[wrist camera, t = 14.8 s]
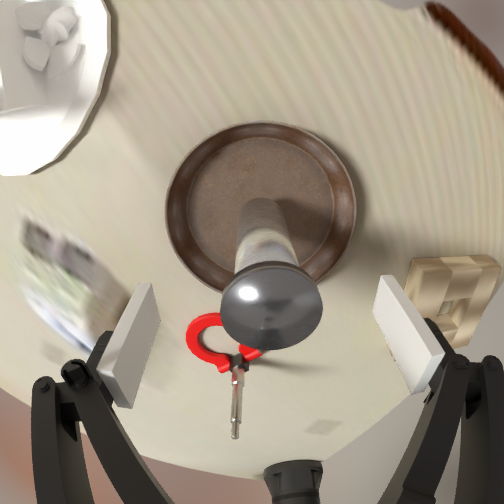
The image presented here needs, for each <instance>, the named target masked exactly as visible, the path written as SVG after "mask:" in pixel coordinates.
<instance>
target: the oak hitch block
mask: <svg viewBox="0 0 504 504" xmlns="http://www.w3.org/2000/svg"><path fill="white" fill-rule="evenodd" d="M500 270H501V266H500V265H498V264H497V263H496V262H495V261H494V260H493V259H492V258H491V257H489V256H488V255H474V256H455V257H436V258H416V259H412V261H411V265H410V269H409V273H408V277H407V280H406V284H405V288H404V292H405V293H406V295H407V296H408V298H409V299H410V300H411V302H412V303H413V305H414V306H415V308H416V309H417V310H418V312H419V313H420V315H421V316H422V318H430V319H431V320H432V321H433V322H435V323H436V325H437V326H438V328H439V329H440V331H441V332H442V333H443V336H445V338H446V339H447V341H448V342H449V344H450V345H451V347H452V349H455V348H458V347H462V346H466V345H468V343H469V341H470V339H471V337H472V335H473V333H474V331H475V329H476V327H477V325H478V323H479V321H480V319H481V317H482V314H483V312H484V310H485V308H486V305H487V303H488V301H489V298H490V296H491V293H492V291H493V288H494V286H495V283H496V281H497V278H498V275H499V273H500ZM450 300H453V302H452V305H451V307H450V310H449V312H448V314H444V315H438V313H439V310H440V308H441V305H442V302H443V301H450ZM387 346H388V348H389V345H388V343H387ZM389 350H390V348H389ZM390 353H391V355H392V357H393V359H394V361H396V360H395V358H394V356H393V354H392V352H391V350H390Z"/></svg>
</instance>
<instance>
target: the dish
mask: <svg viewBox="0 0 504 504" xmlns="http://www.w3.org/2000/svg"><path fill="white" fill-rule="evenodd" d="M110 56H111V15H110V13H109V11H108V9H107V7H106V4H105V2H104V0H0V174H1V175H3V176H15V175H28V174H31V173H33V172H34V171H36V170H38V169H40V168H41V167H43V166H45V165H47V164H49V163H50V162H52V161H54V160H56V159H57V158H58V157H59V156H60V155H61V154H62V152H63V151H64V150H65V149H66V148H67V147H68V146H69V144H70V143H71V142H72V141H73V140H74V139H75V138H76V137H77V136H78V134H79V133H80V132H81V131H82V129H83V127H84V124H85V122H86V120H87V118H88V117H89V115H90V113H91V111H92V109H93V107H94V105H95V103H96V101H97V100H98V98H99V96H100V94H101V90H102V85H103V81H104V77H105V74H106V70H107V66H108V63H109V59H110Z"/></svg>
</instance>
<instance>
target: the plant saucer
mask: <svg viewBox="0 0 504 504" xmlns="http://www.w3.org/2000/svg"><path fill="white" fill-rule="evenodd" d="M260 197H263V198H268V199H271V200H273V201H275V202H276V203H277V204H278V205H279V206H280V208H281V209H282V212H283V215H284V218H285V221H286V224H287V228H288V231H289V234H290V237H291V241H292V244H293V247H294V250H295V254H296V257H297V260H298V264H299V267H300V268H302V269H303V270H305V271H306V272H307V273H308V274H309V275H310V276H311V277H312V278H313V280H314V281H315V283H316V284H317V283H318V282H320V281H321V280H322V279H323V278H325V277H326V276H327V275H328V274H329V273H330V272H331V271H332V270H333V269H334V268H335V266H336V265H337V264H338V263H339V261H340V260H341V259H342V257H343V255H344V254H345V252H346V250H347V248H348V246H349V244H350V241H351V238H352V236H353V232H354V228H355V222H356V197H355V191H354V188H353V184H352V181H351V178H350V176H349V174H348V172H347V170H346V168H345V166H344V165H343V163H342V162H341V160H340V159H339V157H338V156H337V155H336V154H335V153H334V151H333V150H332V149H331V148H330V147H329V146H327V145H326V144H325V143H324V142H323V141H321V140H320V139H319V138H317V137H316V136H314V135H313V134H311V133H309V132H307V131H305V130H303V129H301V128H299V127H296V126H293V125H289V124H286V123H281V122H275V121H247V122H242V123H237V124H234V125H230V126H227V127H225V128H222V129H220V130H218V131H216V132H214V133H212V134H210V135H209V136H207V137H206V138H204V139H203V140H201V141H200V142H199V143H198V144H197V145H195V146H194V147H193V148H192V149H191V150H190V151H189V152H188V153H187V154H186V156H185V157H184V158H183V159H182V161H181V162H180V163H179V165H178V167H177V168H176V170H175V172H174V174H173V176H172V178H171V181H170V183H169V187H168V189H167V194H166V200H165V224H166V229H167V234H168V237H169V240H170V243H171V245H172V248H173V250H174V252H175V253H176V255H177V257H178V258H179V260H180V261H181V263H182V264H183V265H184V267H185V268H186V269H187V270H188V271H189V272H190V273H191V274H192V275H193V276H194V277H195V278H196V279H197V280H199V281H200V282H201V283H203V284H204V285H206V286H207V287H209V288H211V289H212V290H214V291H216V292H219V293H221V294H223V291H224V288H225V286H226V284H227V283H228V281H229V280H230V279H231V278H232V277H233V276H234V275H235V260H236V245H237V230H238V216H239V212H240V210H241V208H242V207H243V205H244V204H245V203H246V202H248V201H249V200H251V199H254V198H260Z"/></svg>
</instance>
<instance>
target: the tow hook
mask: <svg viewBox="0 0 504 504" xmlns="http://www.w3.org/2000/svg"><path fill="white" fill-rule="evenodd" d="M217 325H218V326H223V324H222V322H221V317H220V313H208V314H204V315H201V316H199V317H197V318H196V319H194V320H193V321H192V322H191V323H190V325H189V326H188V329H187V332H186V343H187V345H188V348H189V349H190V350H191V352H192V353H193V354H194V355H196V356H197V357H198V358H200V359H202V360H204V361H206V362H209V363H212V364H215V365H216V366H217V369H218V371H219V372H220V373H224V372H227V371H229V370H230V371H231V372H232V387H233V393H232V407H231V423H232V436H231V438H233V439H238V438H239V424H241V416H242V391H243V387H244V378H245V376H244V375H245V372H247V371H249V361H251V360H253V359H255V358H257V357H259V356H262V355H263V351H262V350H258V349H253V348H250V347H247V346H245V345H242V344H240V345H239V352H240V354H237V355H235V356H233V357H231V358H228V357H227V356H226V355H225V354H216V353H213V352H210V351H208V350H206V349H205V348H204V347H203V346H202V345H201V344H200V342H199V340H198V335H199V333H200V332H201V331H202V330H203V329H205V328H206V327H209V326H217Z"/></svg>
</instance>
